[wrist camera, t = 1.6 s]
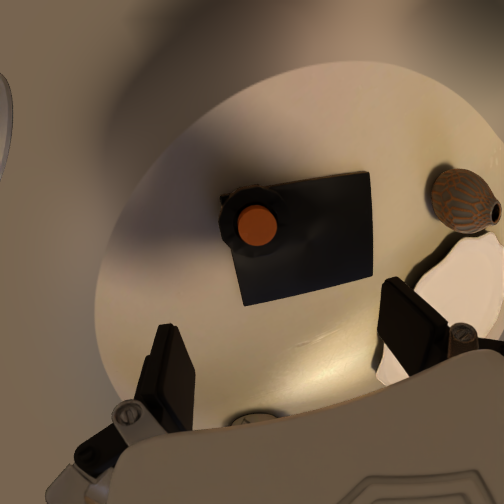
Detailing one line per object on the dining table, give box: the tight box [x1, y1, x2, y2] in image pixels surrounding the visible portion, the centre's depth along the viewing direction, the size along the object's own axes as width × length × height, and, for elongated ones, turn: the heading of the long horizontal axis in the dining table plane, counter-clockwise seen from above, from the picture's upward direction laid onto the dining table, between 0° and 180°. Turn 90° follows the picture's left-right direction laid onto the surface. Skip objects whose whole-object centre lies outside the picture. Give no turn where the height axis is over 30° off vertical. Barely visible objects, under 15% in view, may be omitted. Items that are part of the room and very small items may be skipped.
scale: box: [218, 171, 373, 306], centre depth 24 cm, size 11×14×2 cm
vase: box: [431, 169, 502, 234], centre depth 21 cm, size 7×7×9 cm
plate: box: [376, 231, 504, 387], centre depth 32 cm, size 29×29×2 cm
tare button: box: [237, 205, 277, 246], centre depth 22 cm, size 3×3×2 cm
